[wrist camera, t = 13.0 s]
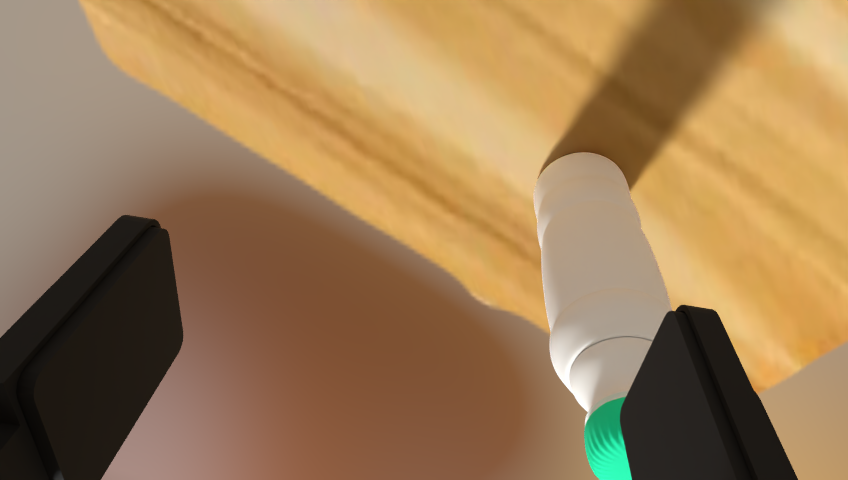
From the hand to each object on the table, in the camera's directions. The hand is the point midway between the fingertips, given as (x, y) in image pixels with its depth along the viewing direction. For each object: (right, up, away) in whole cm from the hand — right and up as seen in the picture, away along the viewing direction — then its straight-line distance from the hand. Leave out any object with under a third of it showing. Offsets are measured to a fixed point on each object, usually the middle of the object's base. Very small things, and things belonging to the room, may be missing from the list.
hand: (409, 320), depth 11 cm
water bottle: (+12, +6, +35) cm, 38 cm away
